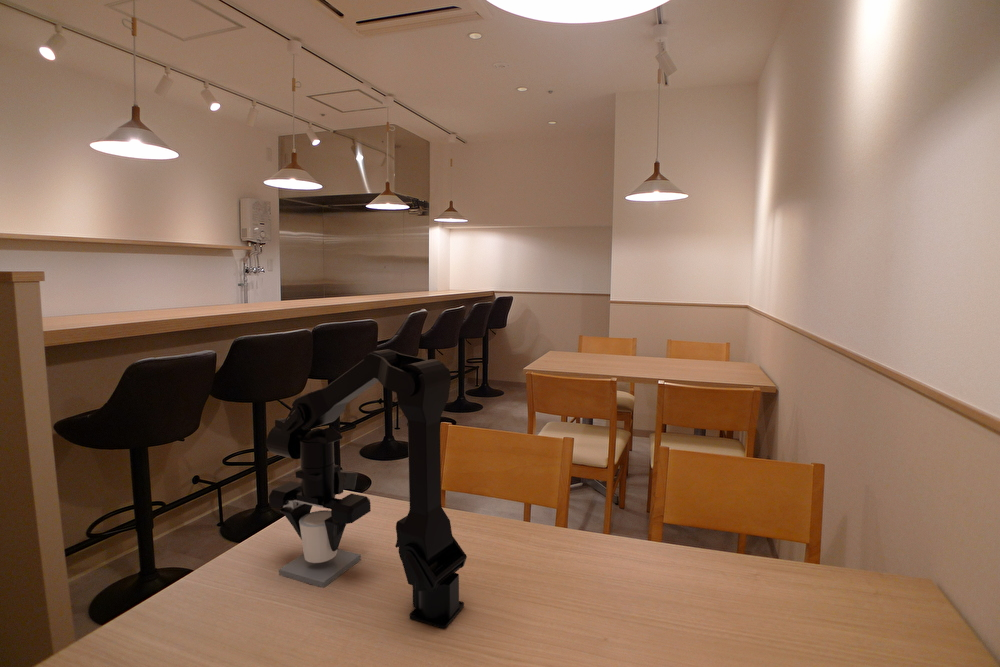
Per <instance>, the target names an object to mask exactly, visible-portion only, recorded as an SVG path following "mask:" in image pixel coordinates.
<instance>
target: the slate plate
mask: <svg viewBox="0 0 1000 667" xmlns="http://www.w3.org/2000/svg"><path fill="white" fill-rule="evenodd" d="M361 560H362V556H361V554H360V553H357V552H352V551H349V550H345V549H340V548H338V549H337V554H336V556H335V557H334V558H332V559H330V560H328V561H325V562H321V563H311V562H308V561H306V560H305V558H304V553H302V554H301V555H299V556H298V557H296V558H293V560H291V561H290V562H287V564H285V565H284V566H282V567H281V568H279V569H278V575H279V576H281V575H282V577H285V578H289V579H292V580H295V581H300V582H303V583H306V584H309V585H312V586H315V587H319V588H322V589H324V588H326V587H327V586H328V585H329V584H331V583H332V582H334V581H335V580H336V579H338V577H340V576H342V574H344V573H345V572H346V571H348V570H349V569H351V568H352V567H354V566H355V565H356V564H357V563H359V561H361Z"/></svg>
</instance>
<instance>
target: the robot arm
mask: <svg viewBox="0 0 1000 667" xmlns="http://www.w3.org/2000/svg"><path fill="white" fill-rule="evenodd" d="M451 375H452V374H451V372H450V369H449V368H448V367H447V366H446V364H444V362H442V361H441V360H439V359H435V358H434V359H425V358H423V357H419V356H413V355H410V354H405V353H401V352H398V351H396V350H392V349H389V348H387V349H382V350H375V351H371V352H369V353H367V355H365V356H364V358H363V359H362V360H361V361H359V362H358V363H357V364H355V365H354V366H352V367H351V368H350V369H348V370H347V371H346V372H344V373H343V374H341V375H340V376H338V377H337V378H336V379H335V380H333V381H332V382H330V383H329V384H328V385H326V386H324V387H322V388H321V389H318V390H314V391H310V392H308V393H306V394H304V395H301V396H297V397H296V398H295V399H294V400H293V401H292V403H291V406H292V407H291V408H290V411H289V413H288V415H287V417H282V418H278V419H275V420H274V426H273V427H272V428H271V429H270V431H269V432H268V434H267V437H266V439H265V445H266V448H267V451H269V453H271V454H272V455H277V456H279V457H280V456H282V457H285V458H289V459H294V460H299V461H300V469H298V470H297V471H295V478H297V479H300V480H301V481H300V482H301V483H300V482H295V481H288V482H286V483H284V484H282V485H280V486H277V487H275V488H273V489H272V490H271V492H270V493H269V495H268V506H269V507H271V508H276V509H280V510H279V512H280V513H281V514H283V515H284V516H285V517H286V519H287V520H288V522H289V523H290V525H291V527H292V528H293V529H294V531H295V533H296V534H297V535H298V537H299V538H300V540H301V541H302V538H301V531H300V524H299V520H300V519H301V517H303V516H304V515H306V514H309V513H311V511H312V508H313V507H318V508H325V509H328V510H330V511H331V517H330V518H328V519H326V520H325V526H326V530H327V534H328V539H329V543H330V546H331V549H332V551H336V550H337V549H339V547H340V546H339V545H340V543H341V540H342V538H343V534H344V531H345V528H346V526H347V524H353V523H354V522H355V521H357V520H359V519H361V518H362V517H363V516H365V515H367V514H369V513H370V512H371V499H370V498H369V497H368V496H366V495H361V494H355V493H350V494H347V495H346V496H344V497H342V498H337V497H336V495H341V494H343V493H344V490H347V489H348V490H352V491H354V490H356V484H357V478H358V472H355V471H350V470H349V471H348V470H343V469H341V466H340V465H339V464H335V445H334V444H335V442H338V441H341V440H342V439H343V435H342V434H341V433H340V432H339V431H337V429H336V428H335V427H334V426H329V427H326V428H319V427H320V426H323V425H327V424H329V423H333V422H335V421H336V420H337V419H338V418H339V417H340V416H341V415H342V414H343V413H344V412H345V410H346V406H347V405H348V404H349V402H351V401H352V400H354V399H356V398H357V397H358V396H360V395H362V393H363V394H364V392H366V391H367V390H369V389H371V388H372V387H373V386H374V385H376V384H378V383H380V384H381V386H382V387H383V388H384V389H387V390H389V391H392V392H393V393H395V394H396V400H397V405H398V407H399V408H400V410H401V411H402V414H403V415H404V417H405V418H406V420H407V437H408V438H407V440H408V441H407V447H408V448H407V449H408V451H407V452H408V485H409V486H408V494H409V495H408V496H409V500H408V501H409V508H408V512H407V515H406V516H403V517H402V518H401V519H399V520H397V521H396V523H395V531H396V543H395V548H398V556H399V559H400V560H401V562H402V567H403V570H404V574H405V578H406V581H407V583H408V585H410V586H412V608H413V610H412V611H411V612H410V613H409V620H410V619H411V620H414V621H417V622H420V623H424V624H428V625H430V626H434V627H438V628H441V629H446V628H448V627H449V625H450V624H451V622H452V621H453V620H454V619H455V617H456V616H457V615H458V614H459V613H460V612H461V611H462V609H463V608H464V607H465V605H464V604H465V603H464V602H463V601H460V574H459V573H457V572H458V571H459V570H460V569H461V568H462V569H463V567H464V566H465V563H466V561H467V557H468V556H467V554H466V553H465V551H464V550H463V548H462V547H461V545H460V544H459V543H458V541H457V540H456V539H455V537H454V535H453V531H452V526H451V525H452V524H451V520H450V517H449V516H448V515H447V514H446V511H445V510H444V508H443V507H442V470H441V465H442V464H441V460H442V459H441V417H442V415H443V412H444V410H445V408H446V406H447V403H448V401H449V396H450V391H451V390H450V389H451V382H452V376H451ZM317 427H318V428H317Z"/></svg>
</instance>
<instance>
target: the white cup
mask: <svg viewBox="0 0 1000 667" xmlns="http://www.w3.org/2000/svg"><path fill="white" fill-rule="evenodd" d="M330 517H331V510H330V509H328V510H327V509H326V510H316V511H312V512H311V511H310V513H309V514H306V515H304V516H303V517H301V519H300V520H299V524H300V531H301V538H302V540H301V543H302V551H303V554H304V558H305V560H306V561H308V562H311V563H321V562H325V561H328V560H330V559H332V558H334V557H335V556H336V554H337V550H336V551H332V549H331V546H330V543H329V539H328V534H327V530H326V526H325V520H326V519H328V518H330ZM301 538H300V539H301Z"/></svg>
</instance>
